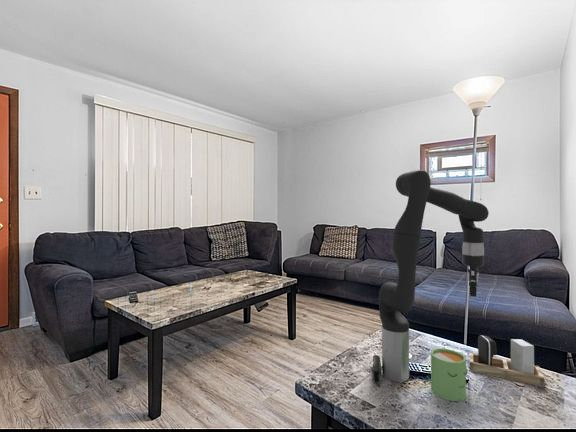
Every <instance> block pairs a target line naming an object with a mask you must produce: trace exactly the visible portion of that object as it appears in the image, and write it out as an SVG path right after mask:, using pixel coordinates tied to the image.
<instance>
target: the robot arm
mask: <svg viewBox="0 0 576 432" xmlns="http://www.w3.org/2000/svg"><path fill="white" fill-rule="evenodd" d="M431 182H432V181H431V177H430V174H429V172H428V171H426V170H424V169H416V170H412V171H407V172H404V173H402V174H400V175H399V176H398V177H397V178H396V181H395V188H396V191H397V192H398V193H399V194H400V195H402V196H404V197H408V198H407V202H406V206H405V209H404V211H403V213H402V215H401V216H400V218H399V219H398V221H397V223H396V225H395V227H394V230H393V235H392V236H393V237H392V242H391V248H392V254H393V257H394V259H395V261H396V266H397V268H398V269H397V270H398V276H397V277H398V278H397V283H396V282H391V281H387V282H385V283H383V284H382V285H381V286H380V289H379V293H378V306H379V319H380V322H381V359H382V360H381V362H382V363H381V375H382V376H383V378H384V379H385V380H389V381H393V382H396V383H400V384H402V383H404V382H405V381H408V380H409V379H410V359H409V353H410V323H409V321H408V319H407V318H406V317H405V316H404V315H403V314H402V313H408V312H409V311H410V310H411V309H412V307H413V305H414V302H415V301H414V300H415V295H416V275H417V274H416V271H417V263H418V262H417V261H418V254H419V249H420V244H421V236H422V234H421V233H422V227H423V222H424V221H423V220H424V216H425V212H426V211H425V210H426V207H427V203H429V204H431V205H433V206H435V207H439V208H441V209H443V210H445V211H447V212H449V213H452V214H453V215H458V220H459V223H460V227H461V230H462V233H463V234H462V239H463V240H462V242H463V243H462V249H461V250H462V253H461V254H462V261H461V262H462V264H463V265H464V266H466V267H469V268H467V273H466V274H467V280H468V282H469V283H468V286H469V296H470V297H475V298H476V297H477V287H478V284H477V283H478V282H479V276H480V270H479V269H478V267H479V268H482V267H483V266H485V246H484V245H485V244H484V230H483V229H482V228H480V227H477V226H476V224H475V222H483V221H486V220H487V218H489V209H488V208H487V206H486V205H484V203H480V202H478V201H474V200H471V199H468V198H464V197H462V196H460V195H458V194H456V193H454V192H451V191H448V190H444V189H440V188H435V187H432V186H431Z"/></svg>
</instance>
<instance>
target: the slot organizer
mask: <svg viewBox="0 0 576 432" xmlns="http://www.w3.org/2000/svg"><path fill="white" fill-rule="evenodd" d="M469 371H471V372H474V373H480V374H483V375H489V376H493V377H497V378H502V379H506V380H511V381H515V382H518V383H519V382H520V383H524V384H530V385H532V384H533V386H537V385H538V386H537V387H541V386H542V388H545V385H546V384H545V381H546V380H545V377H544V374H543V372H542V370H541V368H540V366H539V365H535V364H534V375H533V374H529V373H524V372H519V371H514V370H511V359H505V358H499V357H495V356H493V358H492V366H490V365H486V364H481V363H478V353H473V352H469Z"/></svg>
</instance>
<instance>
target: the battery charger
mask: <svg viewBox="0 0 576 432" xmlns="http://www.w3.org/2000/svg"><path fill="white" fill-rule="evenodd" d="M477 352H478V353H477V354H478V363H481V364H486V365H490V366H492V358H493V357H494V356H497V355H498V353H497V352H498V349H497V343H496V341H495V340H494V339H492V338H491V337H490V336H489V335H481V334H480V335H478V337H477Z"/></svg>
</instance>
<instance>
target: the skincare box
mask: <svg viewBox="0 0 576 432" xmlns="http://www.w3.org/2000/svg"><path fill="white" fill-rule="evenodd" d="M510 361H511V370H514V371H519V372H524V373H529V374H533V375H534V365H535V346H534V345H533V344H531V343H529V342H528V341H525V340H523V339H522V338H521V339H518V338H517V339H514V338H511V339H510Z"/></svg>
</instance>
